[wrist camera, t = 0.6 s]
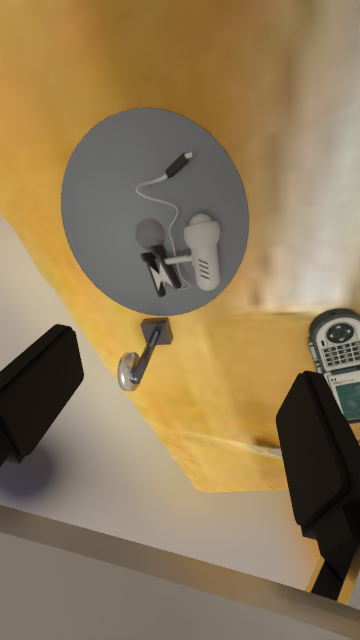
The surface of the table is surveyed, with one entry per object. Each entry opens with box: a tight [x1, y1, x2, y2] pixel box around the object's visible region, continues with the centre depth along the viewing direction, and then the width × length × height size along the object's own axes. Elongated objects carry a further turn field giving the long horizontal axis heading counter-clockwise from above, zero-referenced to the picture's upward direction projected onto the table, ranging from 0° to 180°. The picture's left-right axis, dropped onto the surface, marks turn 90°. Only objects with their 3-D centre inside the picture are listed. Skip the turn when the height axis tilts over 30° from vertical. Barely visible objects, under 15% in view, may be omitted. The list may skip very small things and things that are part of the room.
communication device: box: [308, 309, 360, 424], centre depth 39 cm, size 12×24×9 cm, turn 28°
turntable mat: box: [61, 108, 249, 316], centre depth 36 cm, size 30×30×1 cm
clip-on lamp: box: [136, 152, 220, 298], centre depth 32 cm, size 12×6×18 cm
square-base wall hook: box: [118, 318, 173, 391], centre depth 40 cm, size 6×5×15 cm
